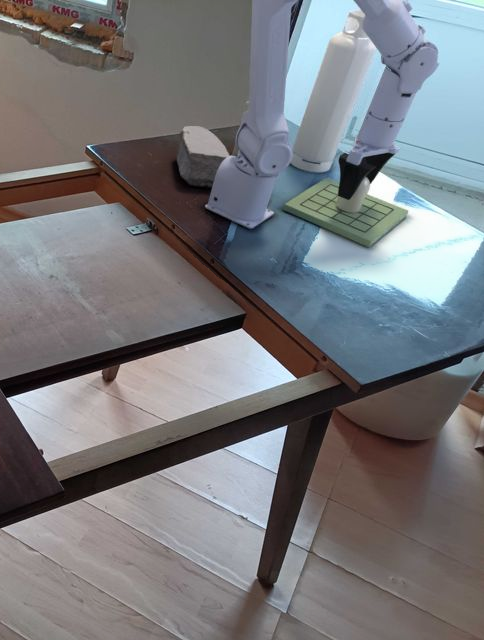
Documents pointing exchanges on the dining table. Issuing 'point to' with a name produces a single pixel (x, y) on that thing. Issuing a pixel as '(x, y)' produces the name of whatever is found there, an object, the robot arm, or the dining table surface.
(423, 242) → the dining table surface
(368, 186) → the cream rounded cylinder
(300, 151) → the bottle
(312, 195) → the game board
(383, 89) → the robot arm
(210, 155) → the decorative stone
